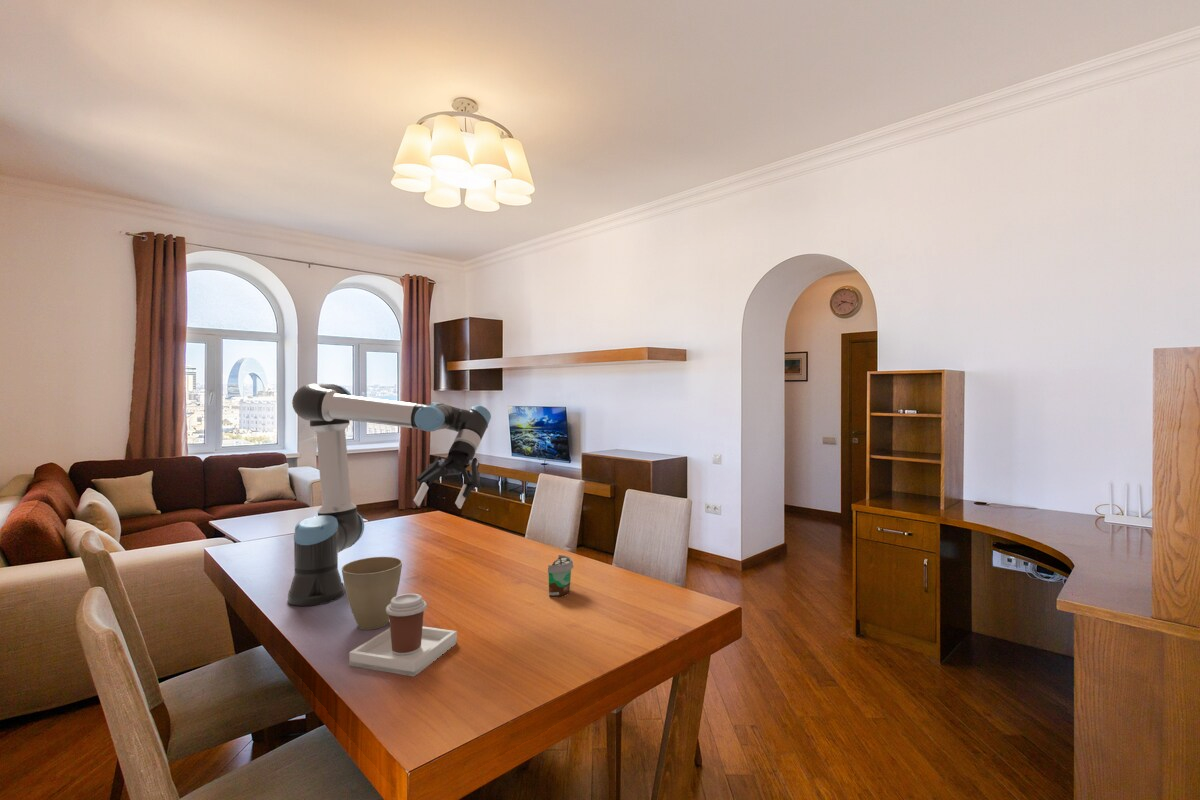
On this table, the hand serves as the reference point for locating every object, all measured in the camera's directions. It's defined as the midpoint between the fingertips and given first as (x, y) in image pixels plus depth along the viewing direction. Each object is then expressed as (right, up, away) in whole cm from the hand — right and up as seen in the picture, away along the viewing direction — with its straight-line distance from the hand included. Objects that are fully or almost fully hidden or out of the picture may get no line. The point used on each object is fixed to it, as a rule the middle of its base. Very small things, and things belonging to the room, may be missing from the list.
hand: (436, 504), depth 158 cm
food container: (+35, -30, +13) cm, 48 cm away
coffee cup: (+1, -29, -28) cm, 40 cm away
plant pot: (-14, -30, -11) cm, 35 cm away
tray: (+1, -30, -28) cm, 41 cm away
